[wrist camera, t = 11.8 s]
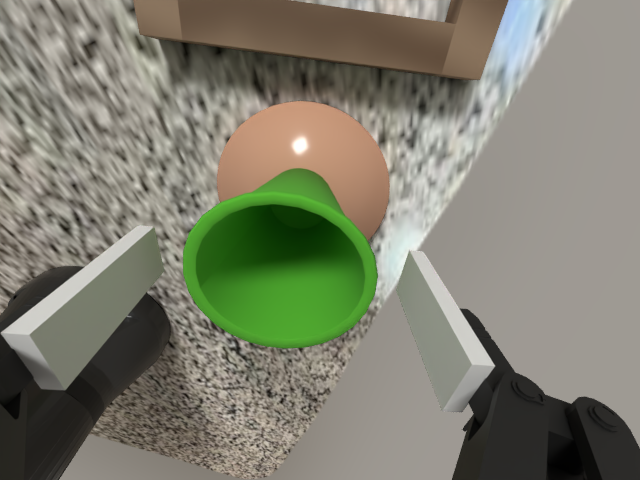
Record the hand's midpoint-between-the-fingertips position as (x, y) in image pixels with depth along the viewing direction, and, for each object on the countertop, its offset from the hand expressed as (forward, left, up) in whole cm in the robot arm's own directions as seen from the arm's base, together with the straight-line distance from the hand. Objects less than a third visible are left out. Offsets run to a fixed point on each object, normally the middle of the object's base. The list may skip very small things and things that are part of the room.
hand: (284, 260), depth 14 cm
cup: (0, 0, -9) cm, 9 cm away
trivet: (0, 0, -10) cm, 10 cm away
